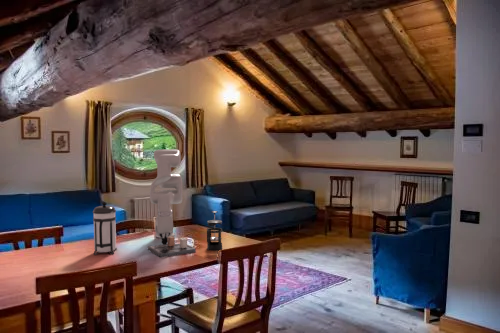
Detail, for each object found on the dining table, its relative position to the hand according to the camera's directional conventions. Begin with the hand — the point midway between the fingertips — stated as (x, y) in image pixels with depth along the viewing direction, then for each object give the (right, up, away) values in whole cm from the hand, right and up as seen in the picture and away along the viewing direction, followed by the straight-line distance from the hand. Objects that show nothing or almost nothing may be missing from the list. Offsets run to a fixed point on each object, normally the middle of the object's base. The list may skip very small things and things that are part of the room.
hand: (164, 244), depth 256 cm
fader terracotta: (+3, -1, +2) cm, 4 cm away
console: (+4, -4, -2) cm, 6 cm away
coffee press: (-33, -4, -6) cm, 34 cm away
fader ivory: (+12, -1, -2) cm, 12 cm away
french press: (+29, -4, +4) cm, 30 cm away
